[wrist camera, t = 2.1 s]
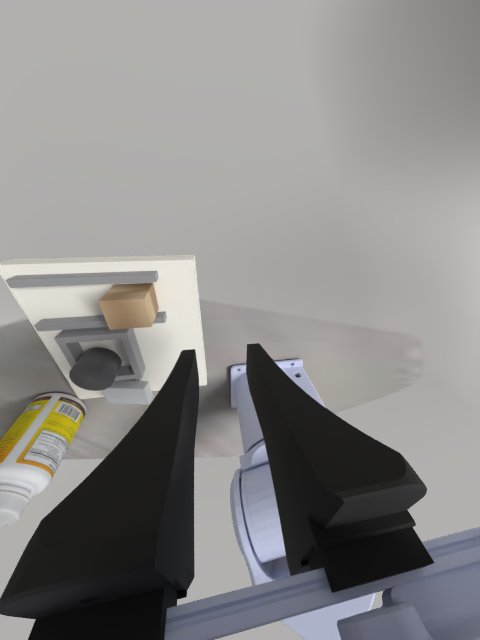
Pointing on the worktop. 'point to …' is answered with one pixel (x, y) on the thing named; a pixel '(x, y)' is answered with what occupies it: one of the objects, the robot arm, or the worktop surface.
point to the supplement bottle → (35, 450)
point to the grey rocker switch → (128, 392)
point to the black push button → (96, 369)
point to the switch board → (88, 319)
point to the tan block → (129, 306)
